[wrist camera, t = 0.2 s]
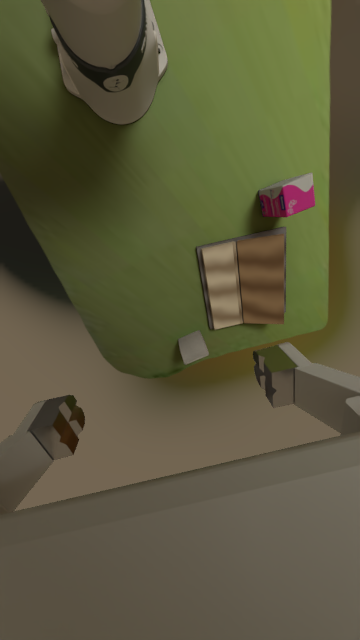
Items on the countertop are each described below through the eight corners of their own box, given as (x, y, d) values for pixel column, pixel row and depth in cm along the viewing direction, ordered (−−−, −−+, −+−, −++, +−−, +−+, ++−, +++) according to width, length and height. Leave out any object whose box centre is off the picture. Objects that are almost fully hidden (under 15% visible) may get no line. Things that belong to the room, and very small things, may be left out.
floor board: (196, 246, 53) (197, 248, 51) (283, 226, 53) (289, 227, 51) (209, 327, 63) (211, 332, 61) (283, 310, 63) (288, 314, 61)
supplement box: (256, 191, 49) (282, 184, 39) (281, 180, 49) (314, 170, 38) (261, 217, 52) (287, 217, 41) (285, 207, 51) (317, 205, 41)
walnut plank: (238, 240, 52) (236, 241, 51) (284, 233, 47) (283, 234, 46) (244, 320, 62) (243, 323, 60) (283, 321, 57) (283, 324, 56)
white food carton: (178, 339, 64) (181, 359, 55) (199, 329, 63) (206, 348, 54) (183, 348, 65) (187, 369, 56) (203, 339, 65) (211, 359, 56)
